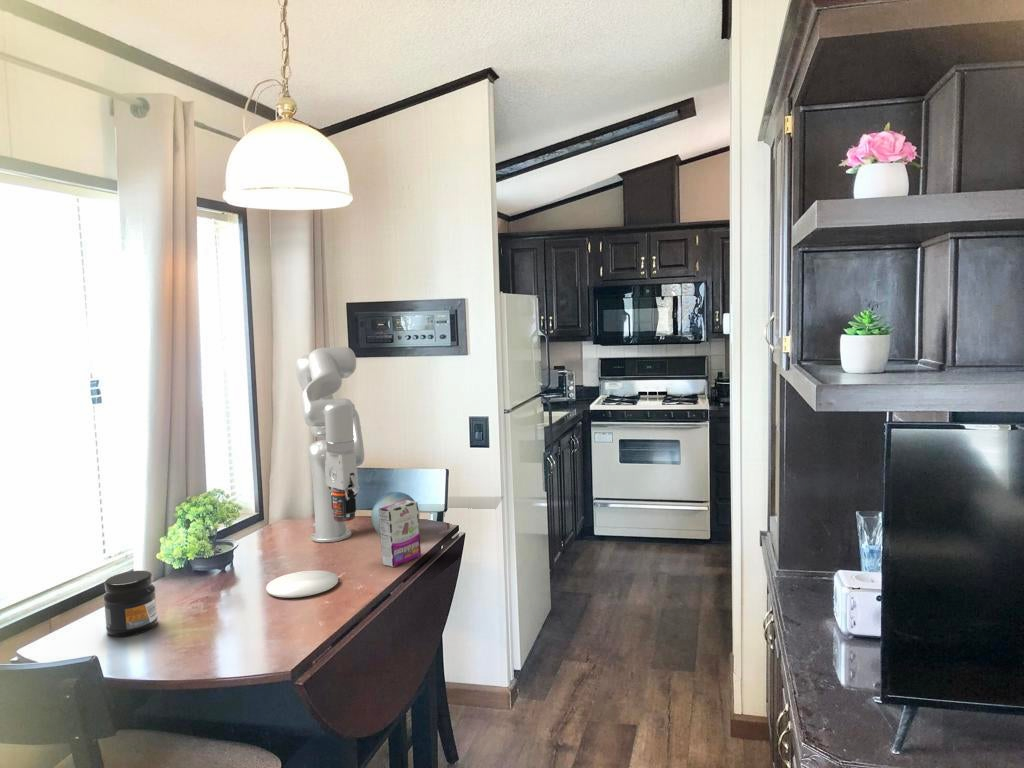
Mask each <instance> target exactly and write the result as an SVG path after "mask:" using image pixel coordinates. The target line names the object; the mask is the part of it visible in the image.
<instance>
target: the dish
mask: <svg viewBox="0 0 1024 768" xmlns="http://www.w3.org/2000/svg"><path fill="white" fill-rule="evenodd" d="M338 583H339V577H338V575H337V574H336V573H334V572H331V571H327V570H315V569H314V570H303V571H297V572H293V573H292V572H291V573H287V574H284V575H281V576H278V577H276V578H273V580H271V581H269V582H268V584H266V587H265V591H266V593H267V594H269V595H270V596H272V597H278V598H287V599H288V598H302V597H309V596H313V595H317V594H321V593H324V592H326V591H329V590H330V589H333V587H334V588H335V586H337V584H338Z"/></svg>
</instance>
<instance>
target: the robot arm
mask: <svg viewBox="0 0 1024 768" xmlns="http://www.w3.org/2000/svg"><path fill="white" fill-rule="evenodd" d="M356 370H357V357H356V354H355V352H354V350H352V349H351V348H350V347H347V346H337V347H336V346H334V347H320V348H316V349H314V350H312V351H310V353H309V354H305V355H302V356H300V357H299V358H297V360H296V362H295V372H296V377H297V381H298V383H299V386H300V387H301V389H302V395H301V409H302V415H303V416H302V417H303V419H304V421H305V424H307V426H309V429H310V433H311V435H312V436H313V437H315V438H325V439H321V440H317V441H314V442H313V443H311V444H310V445H309V447H308V449H307V458H308V462H309V466H310V472H311V478H312V481H311V482H312V492H313V493H312V494H313V495H312V496H313V507H314V508H313V510H314V511H313V512H314V523H312V527H313V528H315V532H313V533H311V535H310V540H311V541H313V542H316V543H333V542H339V541H343V540H346V539H348V538H350V537H351V536H352V531H351V530H350V529H348V528H347V525H346V522H347V521H345V522H339V521H335V520H334V518H333V498H332V490H333V488H335V489H339V490H344V493H345V497H346V499H345V500H344V501H345V513H346V514H349V513H353V512H355V513H356V512H357V503H356V500H357V499H356V498H357V496H358V492H359V491H360V489H361V487H360V485H359V482H358V481H359V480H358V479H359V477H358V467H359V466H361V465H363V463H364V461H365V448H364V442H363V441H364V439H363V434H362V426H361V421H360V415H359V412H358V411H357V410H356V407H355V404H354V403H353V402H352V400H351V399H348V398H334V395H333V394H335V393H337V392H338V391H339V390H340V388H341V387H342V384H343V379H348V378H349V377H351V376H352V375H353V374H354V373H355V371H356ZM349 485H350V486H351V487H349V488H348V486H349ZM348 490H351V491H350V493H348Z"/></svg>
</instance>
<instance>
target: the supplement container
mask: <svg viewBox="0 0 1024 768" xmlns="http://www.w3.org/2000/svg"><path fill="white" fill-rule="evenodd" d="M104 589H105V593H104V594H103V597H102V598H103V602H104V612H105V613H104V614H105V629H106V632H107V634H109V635H111V636H114V637H130V636H129V635H131V636H134V634H135V635H138V633H139V634H143V633H145V632H147V631H149V630H150V628H151V629H152V628H153V627H154V626H156V625H157V622H158V621H159V619H158V618H159V617H158V609H157V599H156V597H157V596H156V591H157V590H156V589H157V588H156V586H155V584H153V574H152V572H150V571H148V570H131V571H126V572H121V573H118V574H115V575H113V576H110V577H108V578H107V579H106V580H105V581H104ZM144 631H145V632H144Z"/></svg>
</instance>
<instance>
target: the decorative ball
mask: <svg viewBox="0 0 1024 768" xmlns="http://www.w3.org/2000/svg"><path fill="white" fill-rule="evenodd" d="M405 500H409V501H415V500H414V498H412V497H411V496H410V495H409V494H407V493H404V492H401V491H392V492H388V493H386V494H383V495H382V496H380V497H379V498H378V499H377V501H376V502H375V503H374V505H373V507H372V511H371V523H372V527H373V528H374V530H375V532H376V533H378V534H379V536H381V534H380V521H379V509H380V508H383V507H386V506H389V505H392V504H396V503H399V502H402V501H405ZM420 515H421V514H420V508H419V507H418V518H419V519H420Z"/></svg>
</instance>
